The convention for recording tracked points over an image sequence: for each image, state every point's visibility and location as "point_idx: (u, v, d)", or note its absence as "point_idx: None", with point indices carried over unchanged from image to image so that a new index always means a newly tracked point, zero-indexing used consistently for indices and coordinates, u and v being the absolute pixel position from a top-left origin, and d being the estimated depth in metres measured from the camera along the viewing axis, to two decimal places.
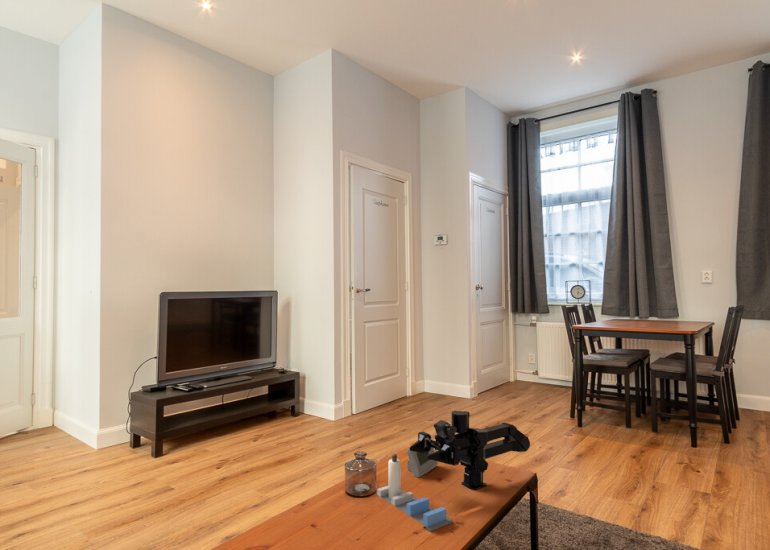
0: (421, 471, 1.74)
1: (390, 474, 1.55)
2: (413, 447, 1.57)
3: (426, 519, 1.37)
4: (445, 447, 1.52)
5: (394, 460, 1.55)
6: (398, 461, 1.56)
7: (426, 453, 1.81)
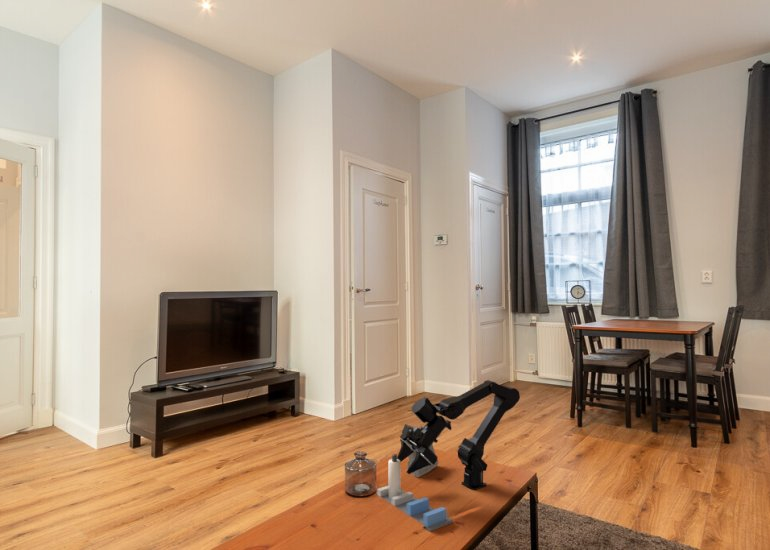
0: (421, 471, 1.74)
1: (390, 474, 1.55)
2: None
3: (426, 519, 1.37)
4: (417, 455, 1.52)
5: (394, 460, 1.55)
6: (398, 461, 1.56)
7: None
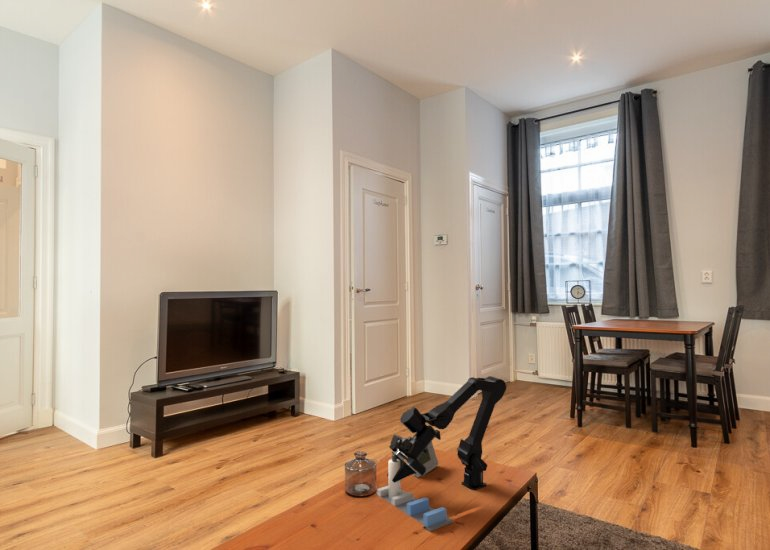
0: None
1: (390, 474, 1.55)
2: None
3: (426, 519, 1.37)
4: (402, 463, 1.53)
5: (394, 460, 1.55)
6: (398, 461, 1.56)
7: (426, 453, 1.80)
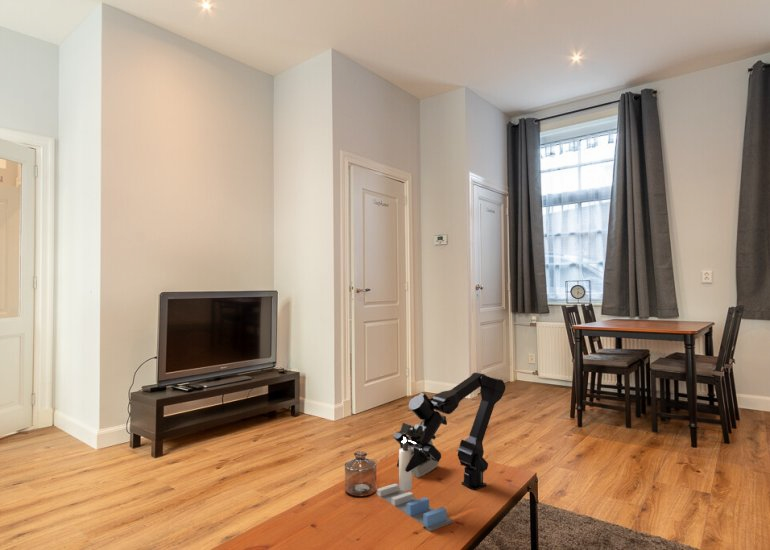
0: (421, 471, 1.74)
1: (402, 464, 1.48)
2: None
3: (426, 519, 1.37)
4: (416, 451, 1.47)
5: (405, 449, 1.49)
6: (409, 450, 1.50)
7: None
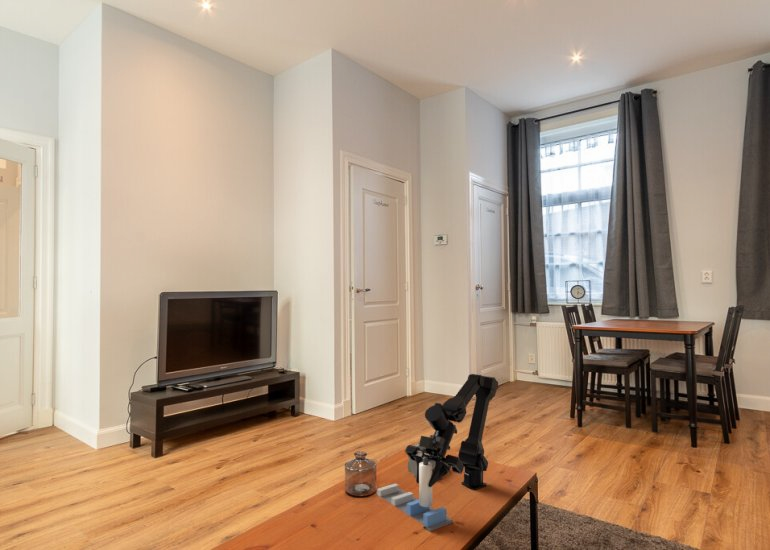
0: None
1: (424, 479, 1.41)
2: None
3: (426, 519, 1.37)
4: (438, 465, 1.42)
5: (427, 463, 1.42)
6: (429, 463, 1.43)
7: None
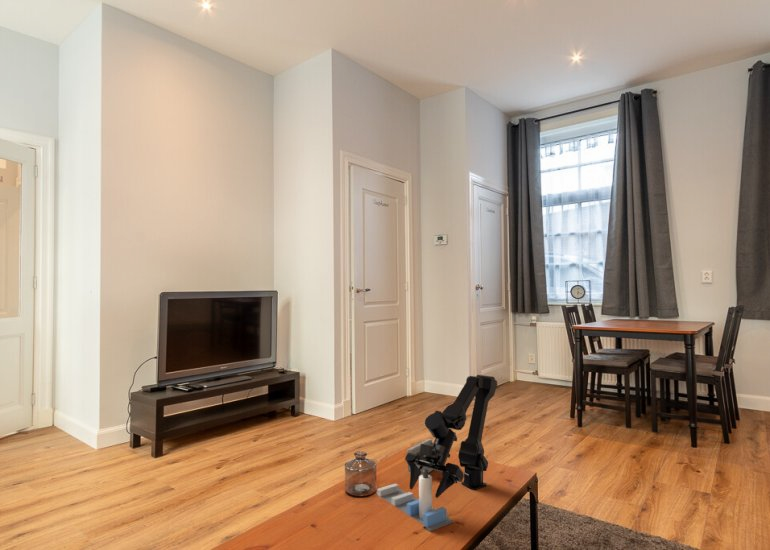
0: (421, 472, 1.73)
1: (424, 492, 1.41)
2: (412, 484, 1.45)
3: (426, 519, 1.37)
4: (445, 475, 1.40)
5: (426, 476, 1.42)
6: (429, 476, 1.43)
7: None
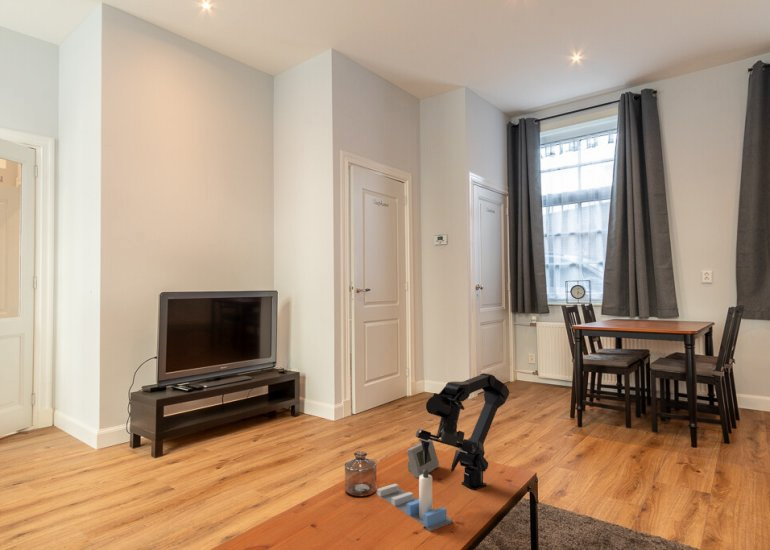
0: (421, 472, 1.73)
1: (424, 492, 1.41)
2: None
3: (426, 519, 1.37)
4: (462, 454, 1.54)
5: (427, 476, 1.43)
6: (429, 476, 1.44)
7: None
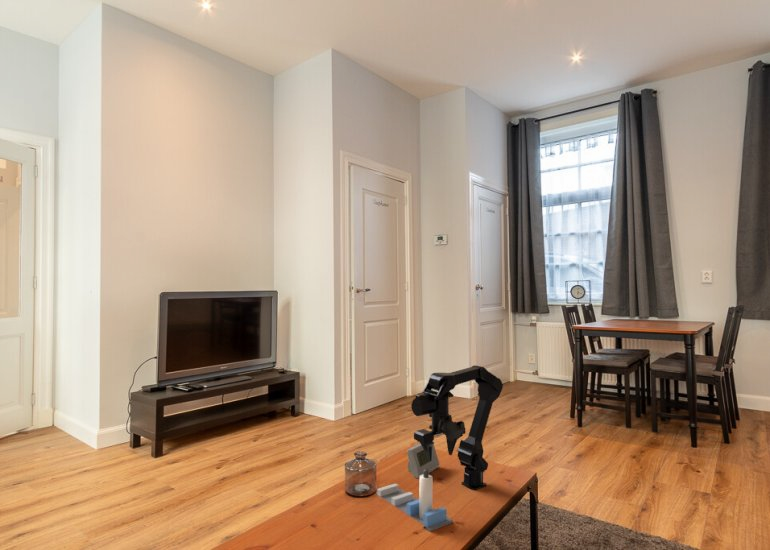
0: (421, 472, 1.73)
1: (425, 492, 1.41)
2: None
3: (426, 519, 1.37)
4: (458, 438, 1.60)
5: (427, 476, 1.43)
6: (430, 476, 1.44)
7: None
